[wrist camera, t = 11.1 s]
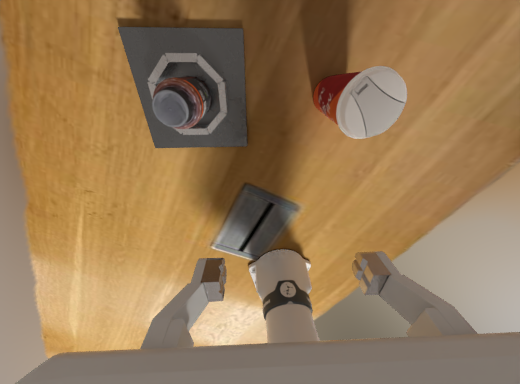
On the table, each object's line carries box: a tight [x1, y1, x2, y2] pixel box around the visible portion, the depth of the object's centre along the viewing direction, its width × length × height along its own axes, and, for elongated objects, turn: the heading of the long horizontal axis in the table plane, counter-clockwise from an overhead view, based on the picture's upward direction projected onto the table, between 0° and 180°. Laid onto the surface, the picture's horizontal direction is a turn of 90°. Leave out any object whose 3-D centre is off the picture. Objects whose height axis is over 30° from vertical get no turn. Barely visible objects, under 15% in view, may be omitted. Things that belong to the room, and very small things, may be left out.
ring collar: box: [118, 27, 247, 148], centre depth 30 cm, size 17×17×4 cm
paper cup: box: [313, 66, 407, 139], centre depth 27 cm, size 8×8×14 cm
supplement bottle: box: [152, 76, 211, 129], centre depth 26 cm, size 6×6×11 cm
